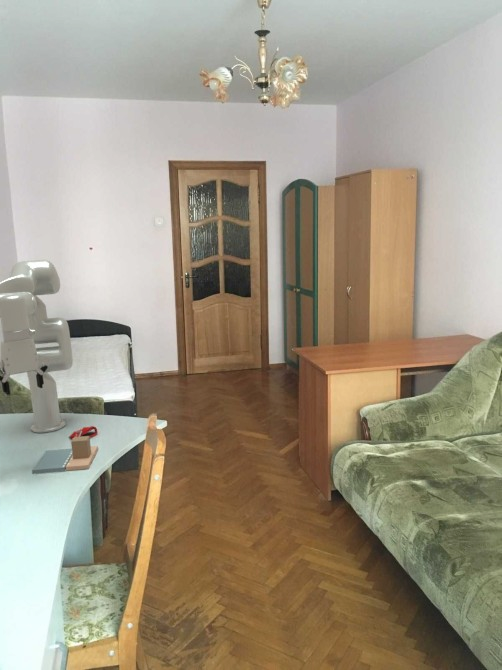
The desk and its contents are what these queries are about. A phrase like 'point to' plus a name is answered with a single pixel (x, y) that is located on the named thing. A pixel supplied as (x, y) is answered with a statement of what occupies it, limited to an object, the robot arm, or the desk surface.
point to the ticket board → (53, 461)
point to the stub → (81, 453)
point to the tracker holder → (83, 432)
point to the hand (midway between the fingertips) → (24, 390)
